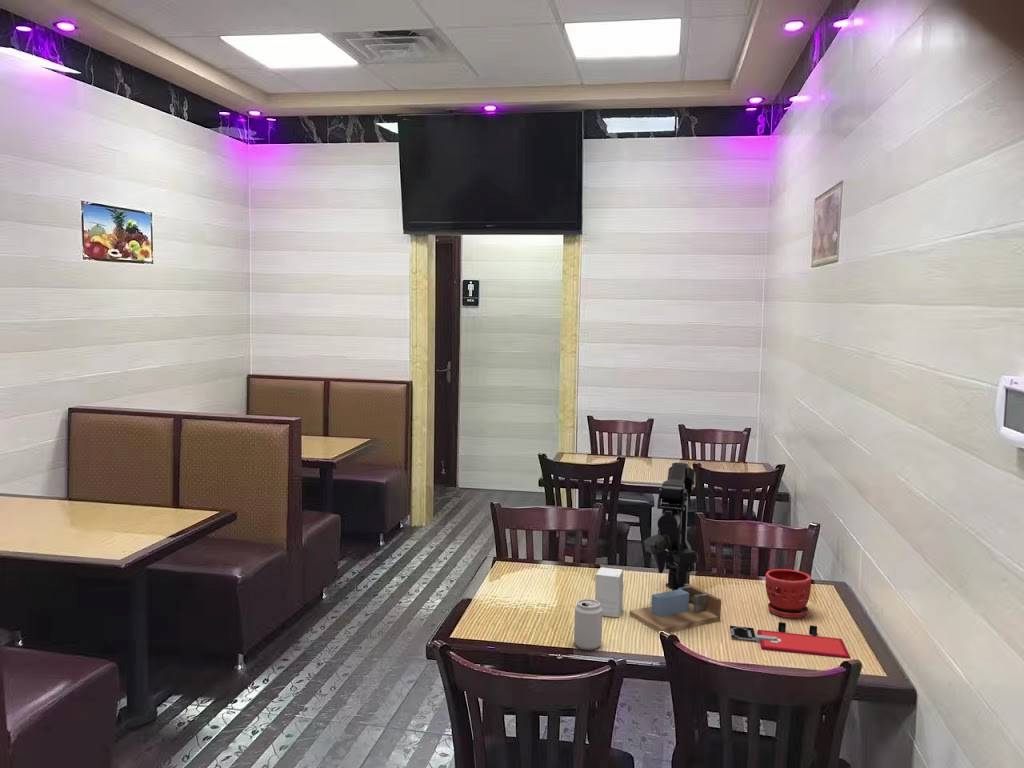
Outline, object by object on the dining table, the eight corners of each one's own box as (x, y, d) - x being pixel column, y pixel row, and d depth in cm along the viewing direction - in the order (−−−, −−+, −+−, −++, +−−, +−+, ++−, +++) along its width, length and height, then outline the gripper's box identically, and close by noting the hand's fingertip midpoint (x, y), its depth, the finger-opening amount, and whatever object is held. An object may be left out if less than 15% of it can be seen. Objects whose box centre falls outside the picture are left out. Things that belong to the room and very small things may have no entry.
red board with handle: (729, 626, 226) (732, 648, 211) (729, 616, 226) (733, 638, 211) (838, 637, 220) (850, 661, 205) (839, 628, 219) (850, 651, 205)
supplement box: (623, 609, 237) (624, 569, 236) (618, 618, 230) (619, 576, 229) (599, 606, 239) (600, 566, 238) (594, 614, 233) (595, 573, 231)
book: (679, 606, 236) (680, 589, 236) (688, 611, 233) (689, 593, 232) (651, 612, 231) (651, 594, 231) (659, 617, 228) (660, 599, 227)
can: (571, 639, 214) (572, 597, 213) (598, 639, 215) (599, 597, 214) (576, 651, 207) (577, 607, 206) (604, 650, 208) (605, 607, 206)
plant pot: (810, 609, 240) (812, 571, 239) (807, 624, 228) (809, 584, 227) (766, 601, 245) (768, 565, 244) (761, 616, 234) (763, 577, 233)
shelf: (686, 603, 243) (687, 583, 242) (720, 620, 229) (721, 599, 229) (629, 615, 232) (630, 594, 232) (661, 634, 219) (662, 611, 219)
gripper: (631, 520, 234) (629, 571, 236) (667, 536, 217) (665, 591, 219) (661, 517, 239) (660, 567, 240) (699, 533, 222) (697, 586, 223)
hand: (669, 577), depth 230 cm, fingers open, 9 cm apart
